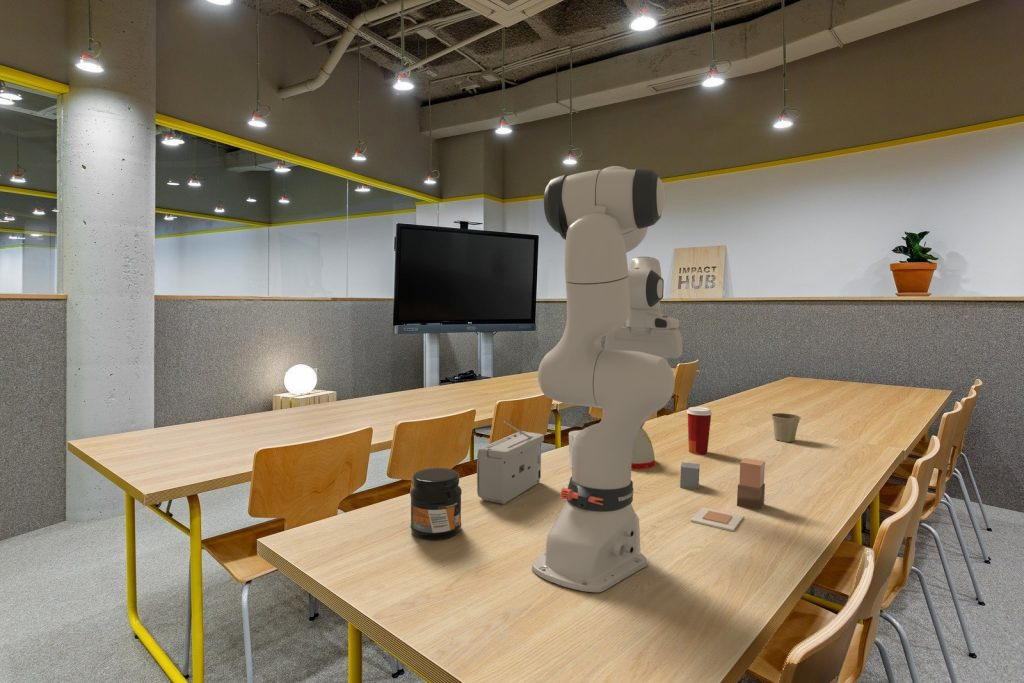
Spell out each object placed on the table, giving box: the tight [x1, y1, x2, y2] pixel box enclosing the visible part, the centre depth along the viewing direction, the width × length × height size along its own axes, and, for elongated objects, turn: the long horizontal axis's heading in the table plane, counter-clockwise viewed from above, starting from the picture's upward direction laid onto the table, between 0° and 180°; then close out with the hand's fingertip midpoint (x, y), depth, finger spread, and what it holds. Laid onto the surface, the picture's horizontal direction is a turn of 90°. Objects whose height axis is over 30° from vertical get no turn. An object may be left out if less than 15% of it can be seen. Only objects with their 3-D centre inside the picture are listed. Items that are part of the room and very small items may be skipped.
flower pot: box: [770, 412, 802, 443], centre depth 194 cm, size 9×9×9 cm
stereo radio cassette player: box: [476, 420, 545, 505], centre depth 140 cm, size 21×8×20 cm, turn 150°
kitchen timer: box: [631, 421, 656, 470], centre depth 166 cm, size 14×14×15 cm
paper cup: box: [686, 406, 713, 456], centre depth 178 cm, size 8×8×14 cm
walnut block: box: [736, 483, 766, 512], centre depth 132 cm, size 5×5×5 cm
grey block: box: [679, 461, 701, 491], centre depth 146 cm, size 4×4×6 cm
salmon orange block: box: [738, 457, 766, 489], centre depth 132 cm, size 4×4×6 cm
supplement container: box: [409, 467, 463, 541], centre depth 116 cm, size 10×10×12 cm
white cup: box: [568, 429, 583, 470], centre depth 160 cm, size 8×8×10 cm
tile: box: [689, 506, 744, 532], centre depth 123 cm, size 9×9×1 cm
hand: (641, 373), depth 146 cm, fingers open, 8 cm apart
